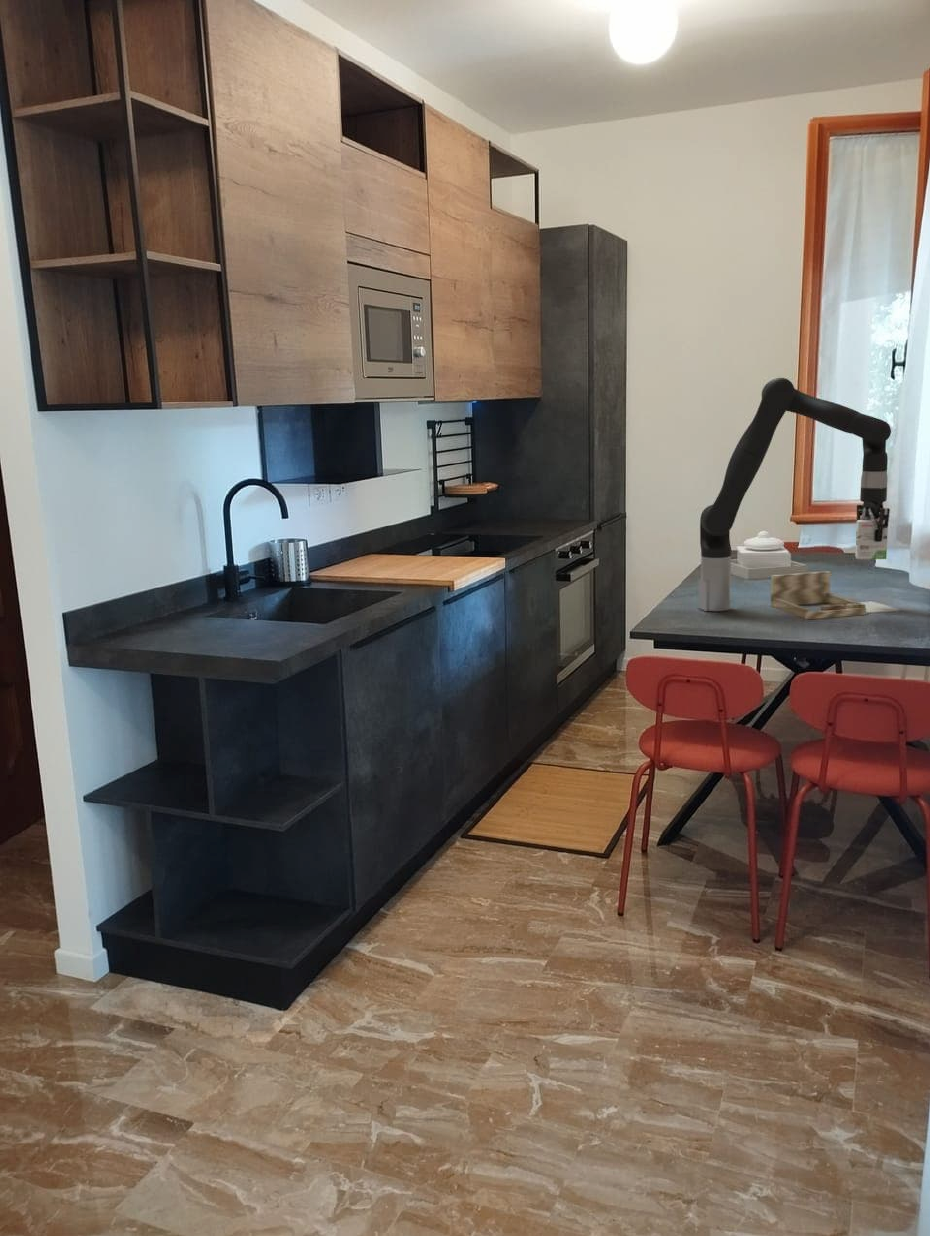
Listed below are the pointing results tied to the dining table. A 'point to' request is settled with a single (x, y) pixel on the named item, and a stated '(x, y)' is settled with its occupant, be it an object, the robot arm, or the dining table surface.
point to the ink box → (870, 541)
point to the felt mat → (877, 607)
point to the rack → (808, 595)
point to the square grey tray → (766, 570)
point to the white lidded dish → (763, 552)
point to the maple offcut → (852, 606)
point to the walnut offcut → (832, 607)
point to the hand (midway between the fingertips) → (871, 539)
